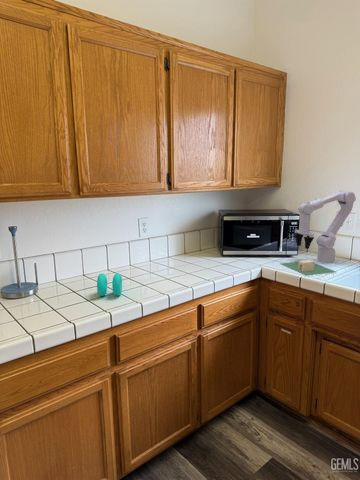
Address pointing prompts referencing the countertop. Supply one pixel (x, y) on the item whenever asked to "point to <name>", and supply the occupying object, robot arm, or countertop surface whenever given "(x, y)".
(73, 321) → the countertop surface
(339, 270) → the countertop surface
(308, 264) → the beige u-shaped channel block
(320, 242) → the robot arm
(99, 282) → the donuts
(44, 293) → the countertop surface
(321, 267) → the header board
